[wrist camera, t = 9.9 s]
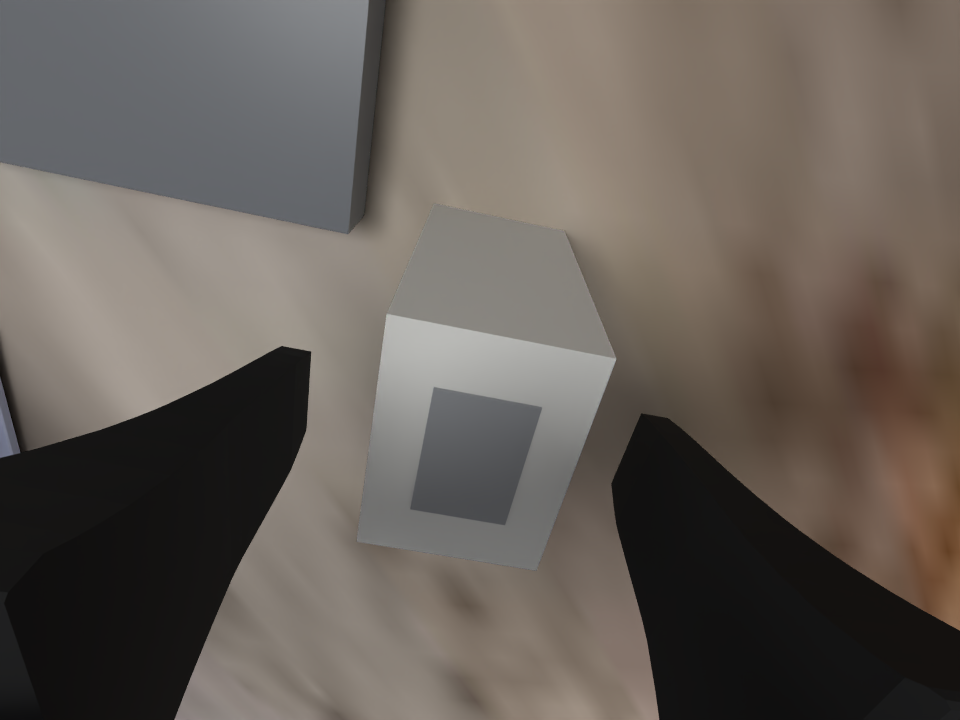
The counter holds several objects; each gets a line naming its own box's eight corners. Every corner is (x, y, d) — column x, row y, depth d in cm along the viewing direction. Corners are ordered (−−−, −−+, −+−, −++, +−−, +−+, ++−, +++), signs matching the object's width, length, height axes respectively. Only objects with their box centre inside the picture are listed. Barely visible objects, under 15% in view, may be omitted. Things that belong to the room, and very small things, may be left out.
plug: (408, 360, 19) (356, 542, 12) (434, 202, 16) (386, 314, 9) (521, 382, 19) (536, 572, 12) (564, 231, 16) (617, 360, 9)
